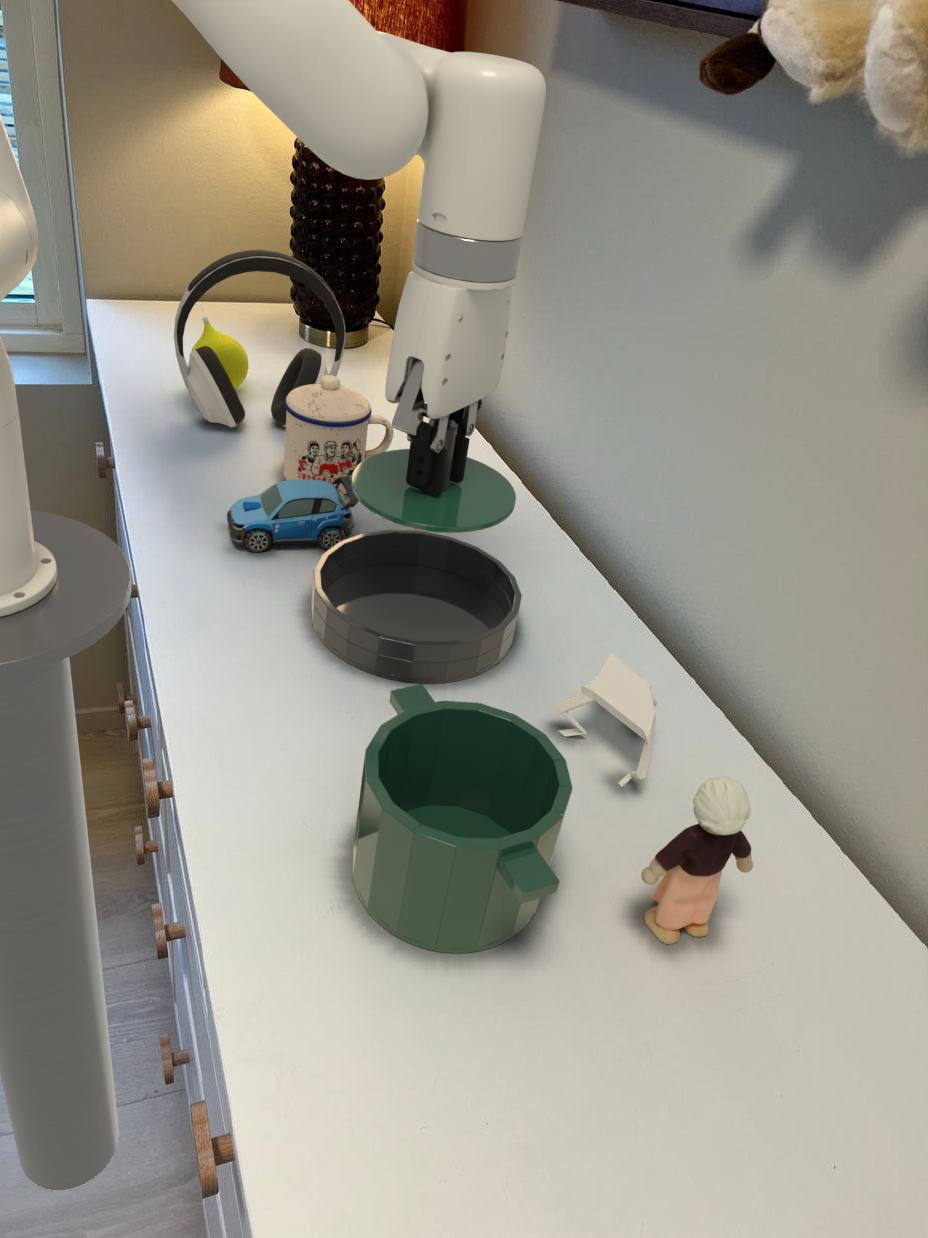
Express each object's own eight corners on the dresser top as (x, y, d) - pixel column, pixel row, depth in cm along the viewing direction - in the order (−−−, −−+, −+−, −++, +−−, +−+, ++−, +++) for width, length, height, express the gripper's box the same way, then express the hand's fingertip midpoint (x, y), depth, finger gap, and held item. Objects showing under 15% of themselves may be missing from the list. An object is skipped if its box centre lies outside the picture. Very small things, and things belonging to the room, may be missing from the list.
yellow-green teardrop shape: (186, 379, 124) (185, 300, 118) (242, 379, 126) (244, 302, 121) (193, 402, 118) (192, 321, 113) (252, 401, 121) (254, 322, 115)
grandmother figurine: (696, 885, 67) (754, 749, 60) (733, 928, 64) (798, 791, 57) (606, 919, 63) (657, 779, 56) (641, 967, 61) (699, 826, 53)
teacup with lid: (291, 500, 102) (296, 395, 96) (273, 460, 109) (277, 360, 102) (399, 495, 107) (412, 395, 100) (376, 457, 113) (386, 361, 107)
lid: (391, 549, 73) (400, 470, 69) (326, 467, 82) (331, 393, 79) (544, 528, 79) (560, 454, 75) (467, 454, 88) (478, 385, 85)
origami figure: (529, 705, 80) (540, 658, 77) (614, 690, 84) (628, 644, 81) (602, 809, 71) (618, 760, 69) (694, 787, 75) (713, 740, 72)
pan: (358, 702, 77) (362, 662, 75) (283, 579, 90) (285, 542, 88) (550, 661, 86) (559, 625, 83) (457, 554, 98) (462, 520, 96)
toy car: (224, 524, 96) (225, 472, 93) (343, 520, 100) (347, 470, 97) (232, 555, 92) (233, 502, 89) (356, 550, 96) (361, 499, 93)
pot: (419, 1019, 55) (441, 912, 50) (310, 801, 68) (319, 696, 63) (599, 951, 61) (637, 848, 56) (468, 761, 74) (489, 662, 68)
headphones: (180, 439, 110) (176, 258, 98) (171, 408, 116) (167, 234, 105) (345, 437, 117) (360, 267, 105) (329, 408, 123) (341, 245, 112)
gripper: (481, 226, 77) (450, 440, 87) (355, 255, 65) (336, 498, 75) (563, 251, 74) (521, 469, 84) (448, 286, 62) (415, 535, 73)
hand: (434, 481), depth 80 cm, fingers closed on lid, 2 cm apart
